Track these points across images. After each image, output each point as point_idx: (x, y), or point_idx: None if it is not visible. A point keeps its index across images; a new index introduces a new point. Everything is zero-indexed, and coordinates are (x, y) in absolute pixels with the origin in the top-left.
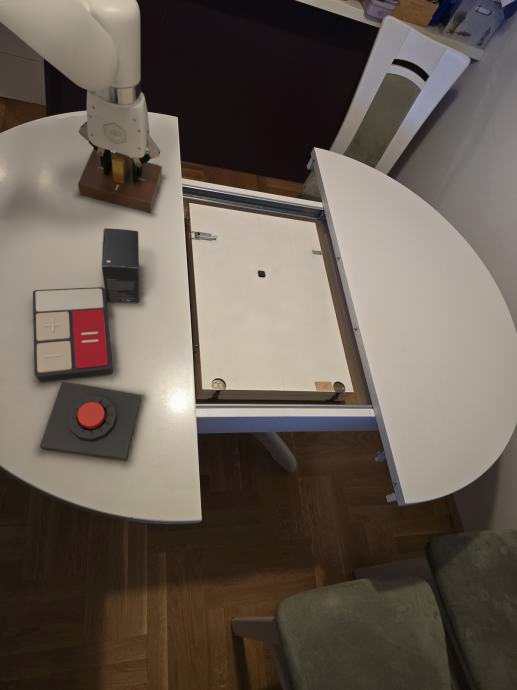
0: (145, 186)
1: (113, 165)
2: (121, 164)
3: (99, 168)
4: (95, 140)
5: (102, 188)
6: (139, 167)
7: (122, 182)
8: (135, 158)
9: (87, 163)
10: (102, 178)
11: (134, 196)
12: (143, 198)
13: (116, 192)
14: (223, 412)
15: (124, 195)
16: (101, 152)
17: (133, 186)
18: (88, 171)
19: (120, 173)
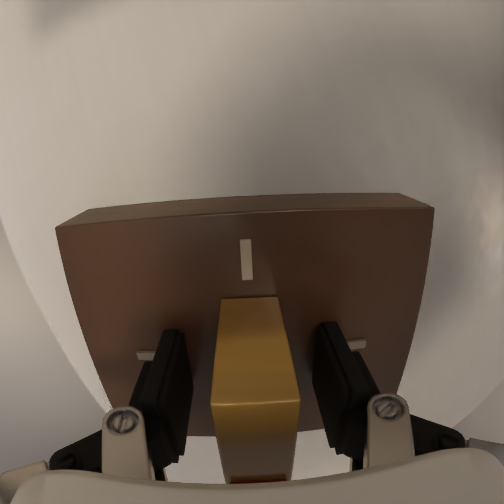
0: (118, 322)
1: (285, 368)
2: (220, 394)
3: (361, 340)
4: (472, 492)
5: (321, 219)
6: (133, 406)
7: (227, 301)
8: (129, 458)
9: (409, 341)
10: (337, 290)
11: (136, 234)
12: (93, 241)
13: (238, 221)
14: None
15: (187, 217)
16: (381, 418)
17: (168, 301)
18: (403, 302)
19: (235, 337)
